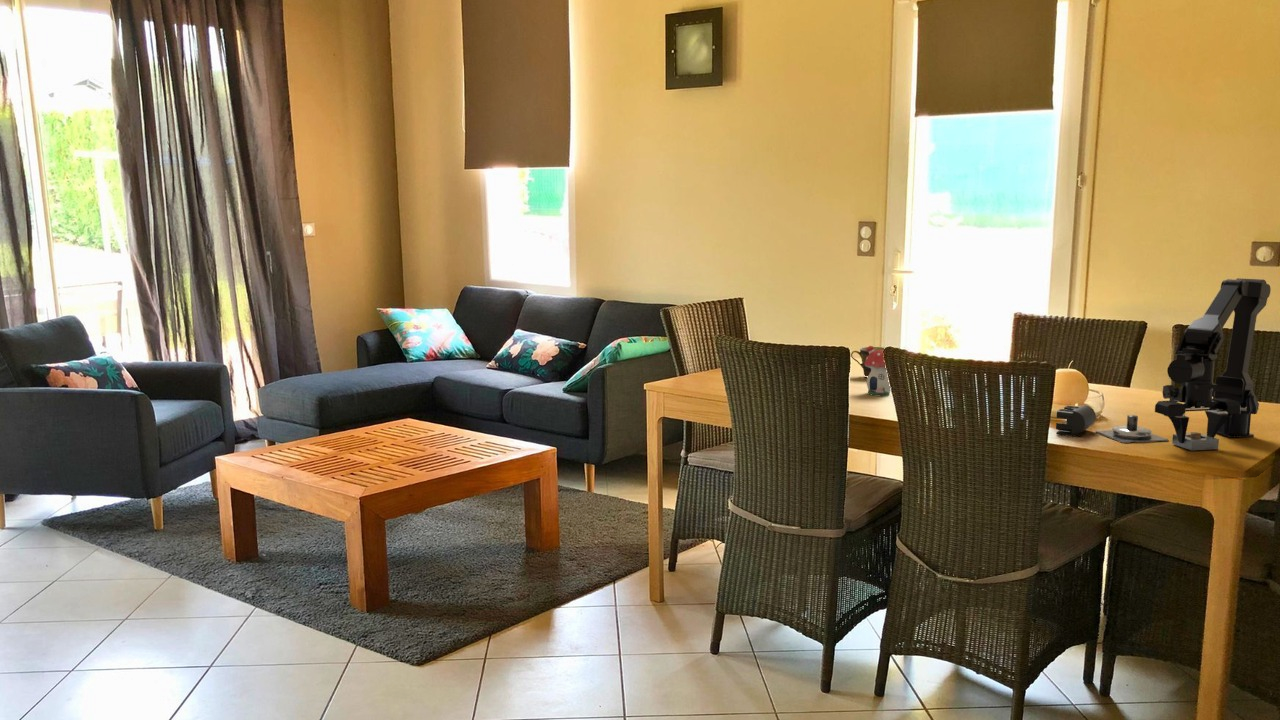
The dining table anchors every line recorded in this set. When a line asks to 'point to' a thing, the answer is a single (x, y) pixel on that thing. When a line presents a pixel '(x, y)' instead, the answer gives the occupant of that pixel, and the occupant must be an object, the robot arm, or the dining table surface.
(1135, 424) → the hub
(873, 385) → the decorative ornament
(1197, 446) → the grey square base
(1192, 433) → the stand post
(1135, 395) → the dining table surface
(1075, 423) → the end cap
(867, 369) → the ceramic cup
